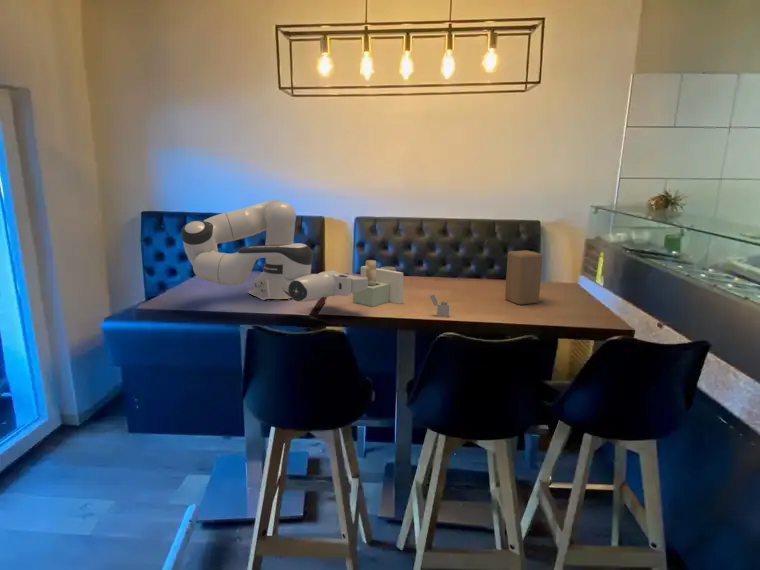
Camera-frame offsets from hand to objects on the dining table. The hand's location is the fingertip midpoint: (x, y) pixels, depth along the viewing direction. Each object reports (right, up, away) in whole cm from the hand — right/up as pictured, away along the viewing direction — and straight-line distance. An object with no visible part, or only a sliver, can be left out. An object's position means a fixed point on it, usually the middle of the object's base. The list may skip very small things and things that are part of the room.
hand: (356, 277), depth 189 cm
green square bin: (+5, -9, +9) cm, 14 cm away
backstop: (+3, -11, +7) cm, 13 cm away
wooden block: (+66, -10, +17) cm, 69 cm away
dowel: (+5, -8, +9) cm, 13 cm away
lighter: (+30, -14, -4) cm, 33 cm away
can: (+12, -8, +24) cm, 28 cm away
